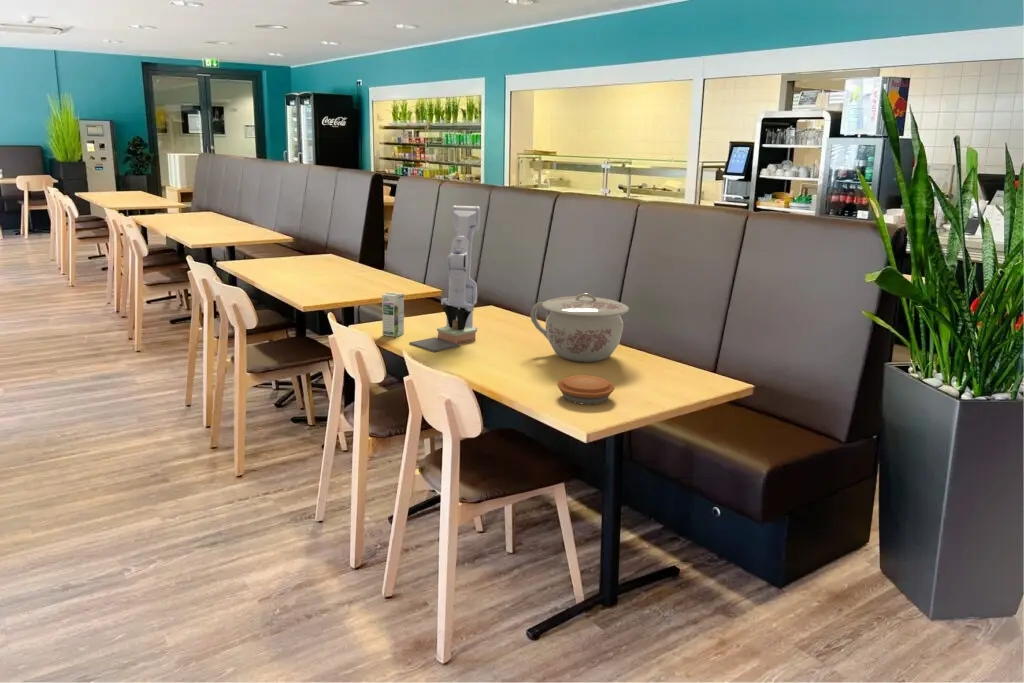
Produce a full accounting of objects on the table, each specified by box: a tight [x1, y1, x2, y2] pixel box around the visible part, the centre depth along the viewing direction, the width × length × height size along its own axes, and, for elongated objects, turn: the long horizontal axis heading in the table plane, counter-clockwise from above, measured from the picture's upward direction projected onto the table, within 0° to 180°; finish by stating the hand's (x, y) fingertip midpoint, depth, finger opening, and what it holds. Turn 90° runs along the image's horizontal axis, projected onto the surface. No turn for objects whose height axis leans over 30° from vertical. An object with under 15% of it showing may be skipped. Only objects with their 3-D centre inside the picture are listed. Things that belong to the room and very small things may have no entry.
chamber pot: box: [530, 292, 630, 363], centre depth 246 cm, size 28×28×21 cm
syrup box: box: [381, 291, 405, 338], centre depth 267 cm, size 6×6×14 cm
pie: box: [556, 374, 616, 405], centre depth 209 cm, size 16×16×5 cm
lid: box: [436, 319, 478, 336], centre depth 263 cm, size 10×10×4 cm
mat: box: [408, 336, 461, 353], centre depth 257 cm, size 13×11×1 cm
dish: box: [437, 331, 477, 345], centre depth 264 cm, size 9×9×3 cm
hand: (456, 328), depth 263 cm, fingers open, 4 cm apart
